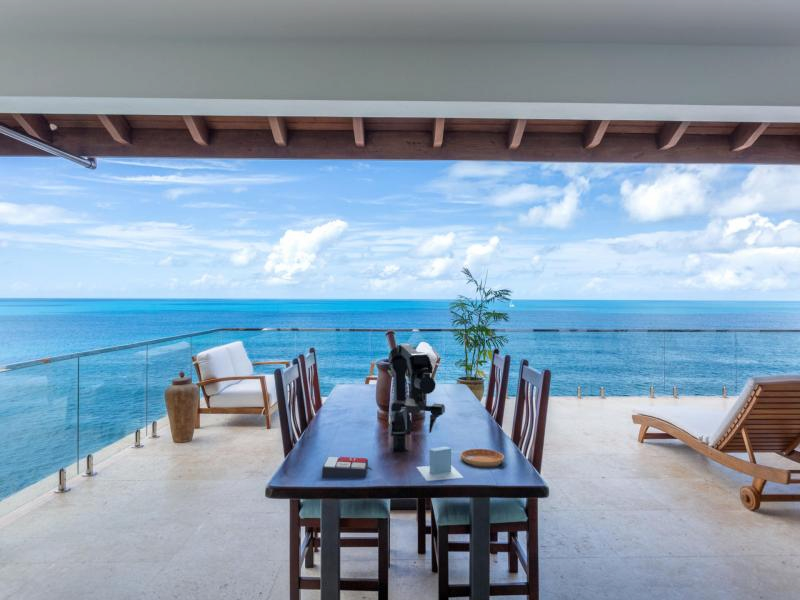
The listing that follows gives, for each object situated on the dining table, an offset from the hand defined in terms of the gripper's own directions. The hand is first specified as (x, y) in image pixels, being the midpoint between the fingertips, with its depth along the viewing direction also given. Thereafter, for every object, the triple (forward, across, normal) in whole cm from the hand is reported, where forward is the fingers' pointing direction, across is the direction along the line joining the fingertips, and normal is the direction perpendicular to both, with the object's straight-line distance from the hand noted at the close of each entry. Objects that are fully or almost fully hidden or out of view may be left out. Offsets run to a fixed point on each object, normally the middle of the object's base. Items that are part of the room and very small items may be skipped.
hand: (417, 431), depth 163 cm
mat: (+13, +8, -2) cm, 16 cm away
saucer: (+14, +21, +15) cm, 29 cm away
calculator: (+14, -24, -10) cm, 29 cm away
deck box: (+13, +9, -2) cm, 16 cm away
